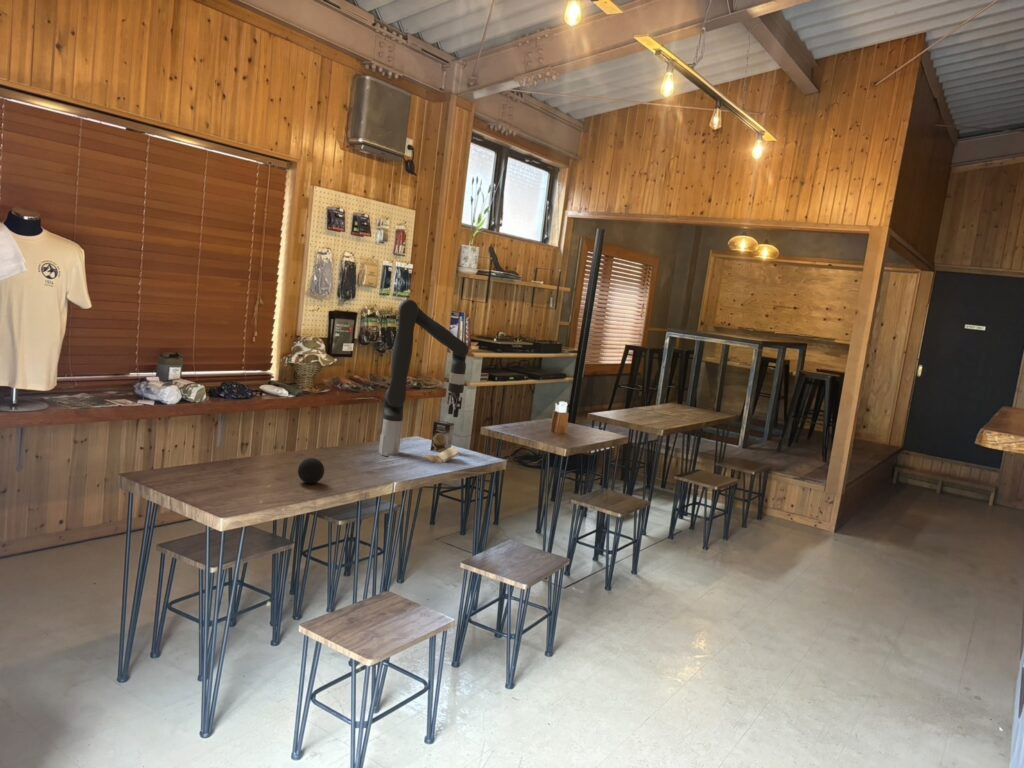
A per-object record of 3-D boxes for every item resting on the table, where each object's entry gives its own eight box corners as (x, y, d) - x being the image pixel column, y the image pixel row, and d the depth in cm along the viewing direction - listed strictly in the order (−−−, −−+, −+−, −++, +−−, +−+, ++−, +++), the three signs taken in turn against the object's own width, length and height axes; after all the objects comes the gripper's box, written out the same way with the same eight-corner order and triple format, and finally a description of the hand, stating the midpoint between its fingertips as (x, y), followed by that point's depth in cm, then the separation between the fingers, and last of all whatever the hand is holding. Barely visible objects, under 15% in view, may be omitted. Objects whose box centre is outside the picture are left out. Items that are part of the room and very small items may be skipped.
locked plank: (431, 463, 341) (431, 460, 341) (424, 457, 351) (424, 455, 351) (443, 463, 344) (443, 460, 344) (436, 457, 354) (436, 455, 354)
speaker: (328, 484, 286) (330, 460, 285) (306, 487, 278) (308, 462, 277) (313, 478, 292) (315, 454, 291) (291, 481, 285) (293, 456, 284)
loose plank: (443, 462, 344) (443, 460, 343) (436, 457, 354) (435, 455, 353) (460, 453, 346) (459, 451, 346) (453, 448, 356) (452, 446, 356)
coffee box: (429, 452, 367) (433, 421, 365) (434, 450, 373) (438, 419, 371) (446, 455, 364) (449, 424, 363) (451, 453, 370) (454, 422, 369)
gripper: (444, 379, 359) (440, 412, 360) (454, 384, 346) (450, 418, 348) (459, 380, 362) (455, 413, 364) (469, 385, 349) (464, 418, 351)
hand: (452, 415), depth 356 cm, fingers open, 7 cm apart
